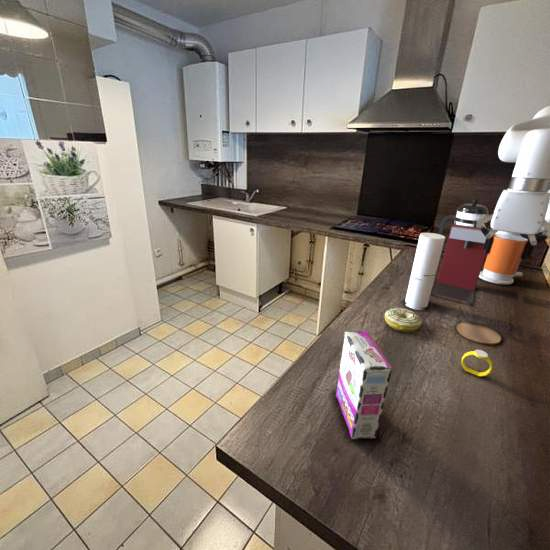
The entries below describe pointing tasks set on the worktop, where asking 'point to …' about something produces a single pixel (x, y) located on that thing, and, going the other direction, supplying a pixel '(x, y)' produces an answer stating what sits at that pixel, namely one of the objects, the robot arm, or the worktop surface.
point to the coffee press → (466, 216)
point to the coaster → (478, 333)
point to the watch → (480, 355)
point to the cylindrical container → (424, 270)
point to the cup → (505, 254)
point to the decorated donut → (403, 320)
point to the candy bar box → (362, 384)
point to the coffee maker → (461, 263)
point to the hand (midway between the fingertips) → (504, 254)
